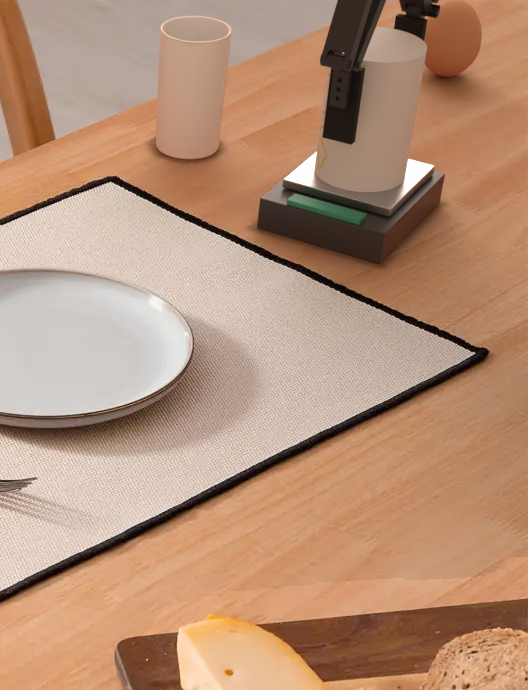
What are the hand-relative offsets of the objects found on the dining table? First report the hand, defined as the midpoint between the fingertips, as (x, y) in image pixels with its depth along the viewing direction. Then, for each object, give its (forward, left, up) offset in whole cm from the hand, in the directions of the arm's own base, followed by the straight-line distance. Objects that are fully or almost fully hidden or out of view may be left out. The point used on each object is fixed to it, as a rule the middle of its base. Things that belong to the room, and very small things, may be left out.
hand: (370, 113), depth 138 cm
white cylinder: (0, 0, -6) cm, 6 cm away
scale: (0, +1, -10) cm, 10 cm away
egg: (+5, -35, -10) cm, 37 cm away
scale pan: (0, 0, -7) cm, 7 cm away
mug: (+20, -5, -10) cm, 23 cm away
